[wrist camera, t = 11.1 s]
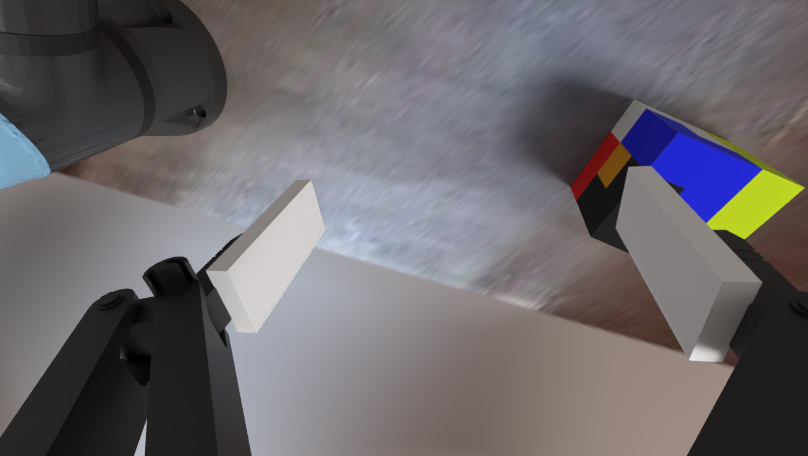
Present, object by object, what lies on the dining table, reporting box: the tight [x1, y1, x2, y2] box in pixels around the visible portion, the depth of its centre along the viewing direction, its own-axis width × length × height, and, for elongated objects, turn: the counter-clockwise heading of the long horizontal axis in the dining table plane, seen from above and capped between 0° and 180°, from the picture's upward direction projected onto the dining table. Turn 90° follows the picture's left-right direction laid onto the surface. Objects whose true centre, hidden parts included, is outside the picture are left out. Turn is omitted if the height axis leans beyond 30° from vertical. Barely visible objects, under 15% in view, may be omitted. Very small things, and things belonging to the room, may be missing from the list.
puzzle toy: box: [571, 100, 804, 253], centre depth 33 cm, size 10×10×10 cm
